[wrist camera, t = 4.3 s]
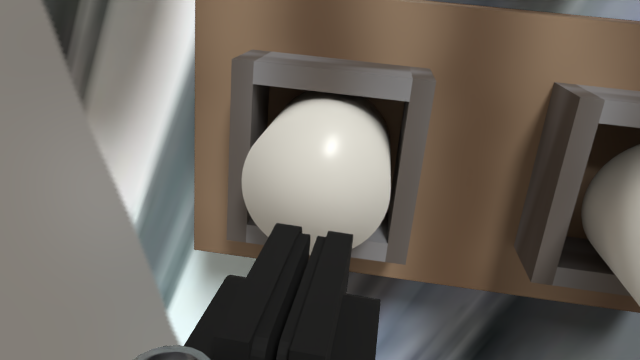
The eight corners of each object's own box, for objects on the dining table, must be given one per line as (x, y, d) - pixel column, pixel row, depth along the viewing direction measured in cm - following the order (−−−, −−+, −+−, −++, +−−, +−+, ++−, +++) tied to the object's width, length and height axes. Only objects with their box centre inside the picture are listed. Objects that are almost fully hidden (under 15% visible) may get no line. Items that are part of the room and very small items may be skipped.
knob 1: (398, 94, 21) (400, 125, 16) (381, 208, 23) (380, 265, 18) (275, 80, 21) (244, 106, 17) (269, 193, 23) (238, 245, 19)
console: (742, 31, 24) (926, 55, 16) (659, 258, 29) (771, 371, 20) (236, -18, 26) (165, -20, 18) (229, 201, 31) (169, 282, 22)
